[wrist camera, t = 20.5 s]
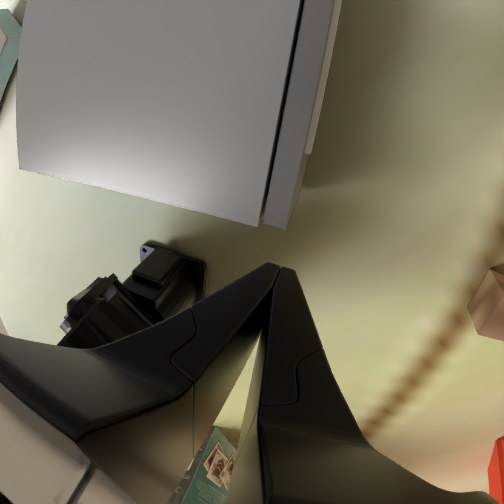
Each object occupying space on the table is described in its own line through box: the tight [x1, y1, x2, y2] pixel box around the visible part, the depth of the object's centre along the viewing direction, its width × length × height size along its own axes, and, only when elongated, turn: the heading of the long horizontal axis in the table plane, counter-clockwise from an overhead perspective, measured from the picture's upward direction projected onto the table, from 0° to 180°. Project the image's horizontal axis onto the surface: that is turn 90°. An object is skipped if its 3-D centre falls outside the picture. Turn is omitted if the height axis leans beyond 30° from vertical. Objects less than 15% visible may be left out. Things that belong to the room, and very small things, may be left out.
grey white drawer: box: [263, 0, 342, 229], centre depth 15 cm, size 18×20×6 cm
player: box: [16, 0, 304, 227], centre depth 15 cm, size 18×20×6 cm
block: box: [467, 269, 504, 341], centre depth 18 cm, size 4×4×4 cm
